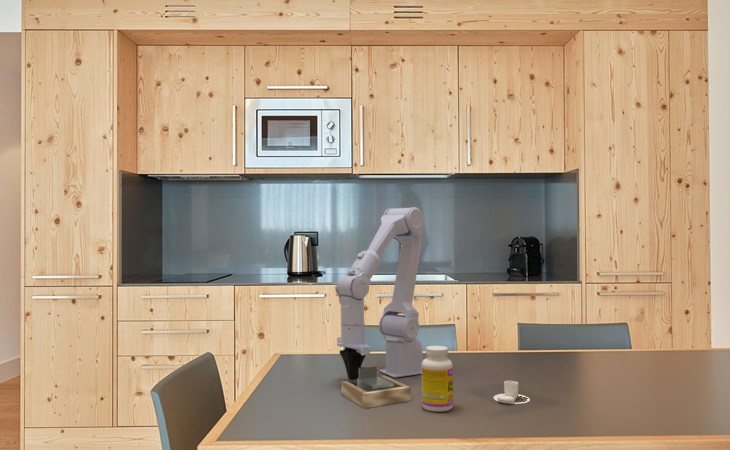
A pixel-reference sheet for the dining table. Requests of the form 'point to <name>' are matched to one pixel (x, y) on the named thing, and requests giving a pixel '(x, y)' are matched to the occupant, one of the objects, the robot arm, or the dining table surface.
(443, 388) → the supplement bottle
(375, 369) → the grey stepped block
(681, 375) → the dining table surface
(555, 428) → the dining table surface
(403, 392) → the dock bay
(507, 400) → the teacup and saucer
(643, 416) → the dining table surface
